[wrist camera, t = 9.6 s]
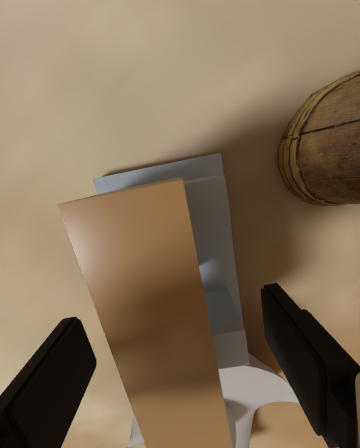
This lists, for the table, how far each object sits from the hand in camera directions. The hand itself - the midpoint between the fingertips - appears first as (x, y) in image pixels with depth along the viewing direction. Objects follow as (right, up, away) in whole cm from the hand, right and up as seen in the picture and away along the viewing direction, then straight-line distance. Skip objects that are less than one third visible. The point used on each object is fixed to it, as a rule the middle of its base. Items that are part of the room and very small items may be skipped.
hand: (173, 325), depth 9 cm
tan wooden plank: (0, +1, +2) cm, 2 cm away
